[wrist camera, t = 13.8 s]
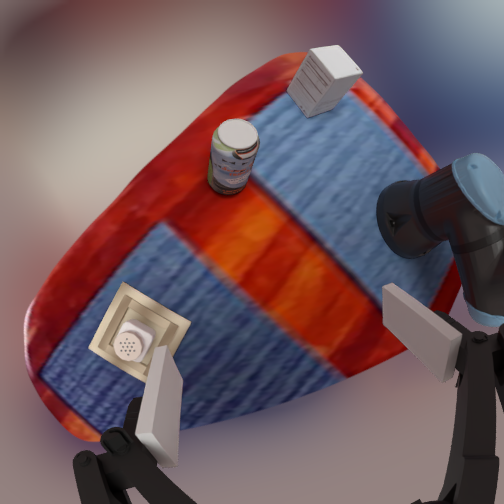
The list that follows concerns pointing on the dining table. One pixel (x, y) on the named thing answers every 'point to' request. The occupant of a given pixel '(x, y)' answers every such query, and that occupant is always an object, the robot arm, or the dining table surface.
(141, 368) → the tray
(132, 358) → the pepper shaker
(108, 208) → the dining table surface
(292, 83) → the supplement box
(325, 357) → the dining table surface
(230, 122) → the beverage can
